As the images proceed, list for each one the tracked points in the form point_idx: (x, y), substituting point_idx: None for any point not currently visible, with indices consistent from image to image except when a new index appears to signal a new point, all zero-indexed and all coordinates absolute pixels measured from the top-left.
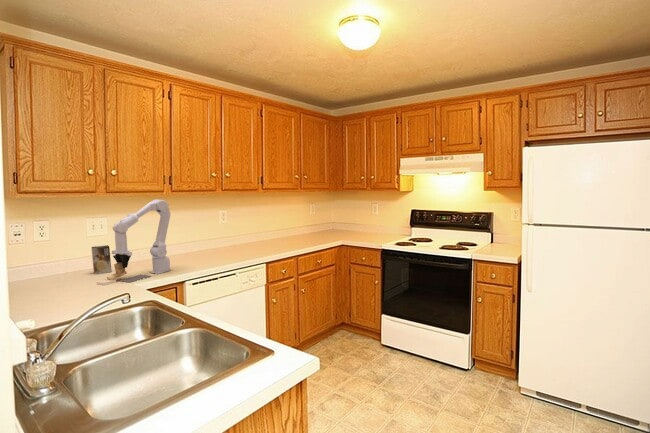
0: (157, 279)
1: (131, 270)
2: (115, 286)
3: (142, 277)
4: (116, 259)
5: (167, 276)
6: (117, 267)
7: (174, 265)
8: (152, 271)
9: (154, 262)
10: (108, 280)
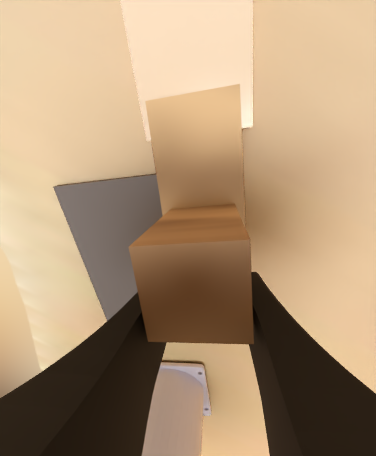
0: (27, 299)
1: (372, 368)
2: (14, 54)
3: (113, 289)
4: (292, 379)
5: (55, 345)
6: (176, 227)
7: (229, 452)
8: (195, 375)
9: (145, 444)
10: (187, 82)
